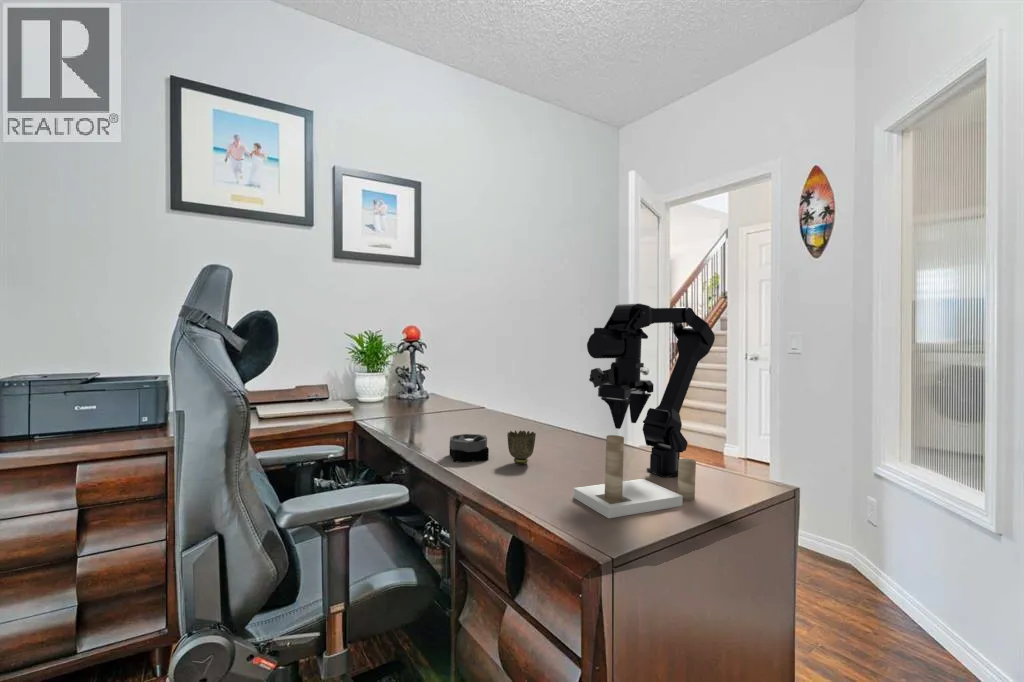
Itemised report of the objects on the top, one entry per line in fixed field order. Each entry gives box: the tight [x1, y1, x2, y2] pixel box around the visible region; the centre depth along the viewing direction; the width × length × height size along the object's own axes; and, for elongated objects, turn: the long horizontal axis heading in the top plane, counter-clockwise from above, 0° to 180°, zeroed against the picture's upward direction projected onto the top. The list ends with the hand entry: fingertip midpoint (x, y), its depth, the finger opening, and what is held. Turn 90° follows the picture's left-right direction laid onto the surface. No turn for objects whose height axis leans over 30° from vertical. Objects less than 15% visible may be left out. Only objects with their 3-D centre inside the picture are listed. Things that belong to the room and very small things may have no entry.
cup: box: [507, 429, 537, 466], centre depth 125 cm, size 8×7×8 cm
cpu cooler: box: [449, 433, 490, 463], centre depth 129 cm, size 10×6×10 cm
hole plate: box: [573, 478, 683, 519], centre depth 98 cm, size 18×12×2 cm, turn 115°
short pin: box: [677, 458, 697, 502], centre depth 101 cm, size 3×3×8 cm
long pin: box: [604, 434, 625, 504], centre depth 94 cm, size 3×3×14 cm
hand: (626, 425), depth 111 cm, fingers open, 9 cm apart
